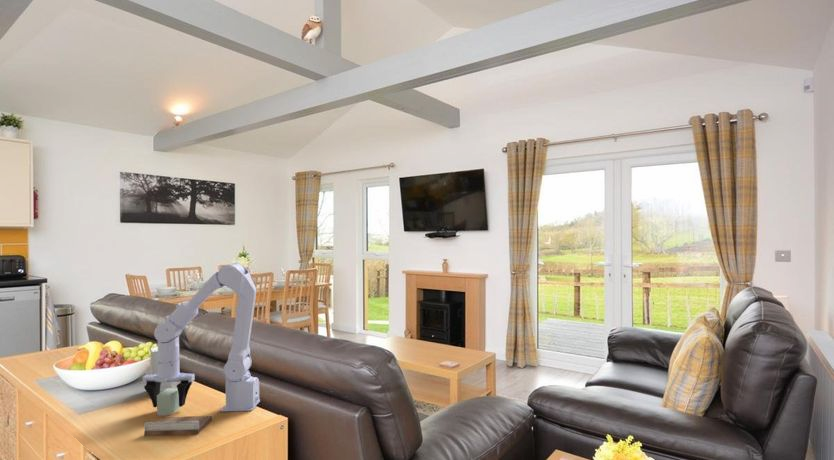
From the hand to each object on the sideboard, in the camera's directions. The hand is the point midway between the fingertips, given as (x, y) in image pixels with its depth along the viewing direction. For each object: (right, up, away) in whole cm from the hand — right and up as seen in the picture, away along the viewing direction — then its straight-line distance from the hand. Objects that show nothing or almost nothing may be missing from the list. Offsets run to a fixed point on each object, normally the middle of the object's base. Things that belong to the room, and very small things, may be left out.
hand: (169, 405), depth 134 cm
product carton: (0, -2, 0) cm, 2 cm away
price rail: (+9, 0, -16) cm, 18 cm away
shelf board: (+9, -1, -12) cm, 15 cm away
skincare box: (-13, -2, +18) cm, 22 cm away
